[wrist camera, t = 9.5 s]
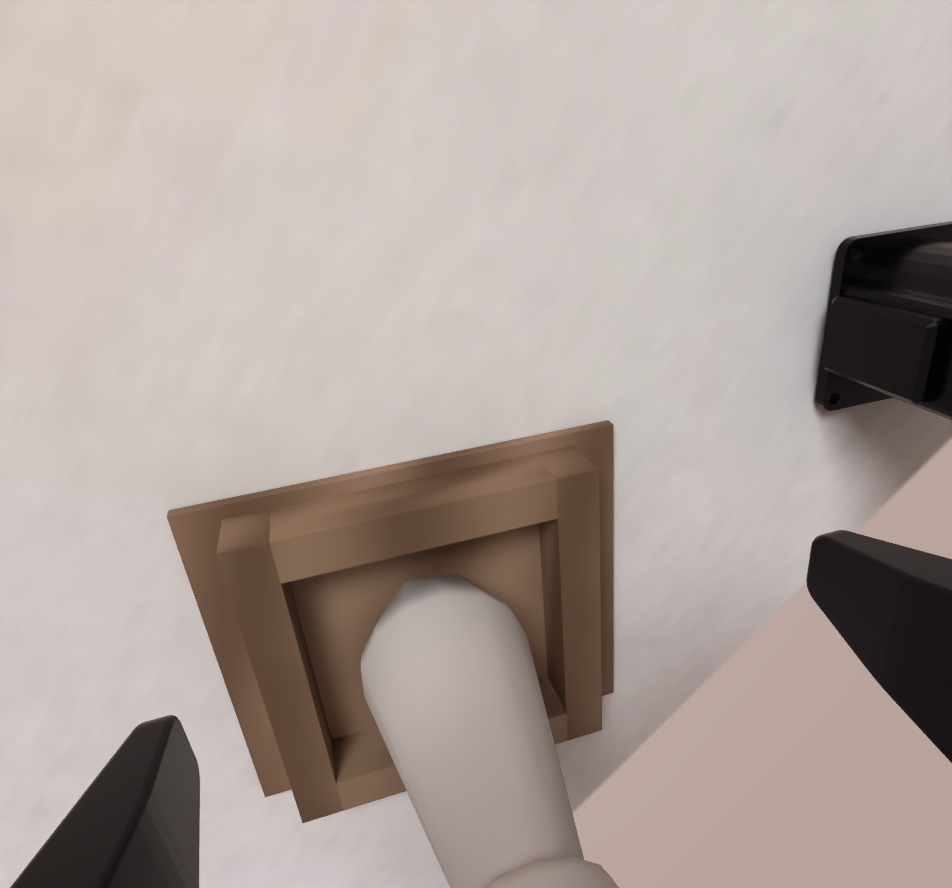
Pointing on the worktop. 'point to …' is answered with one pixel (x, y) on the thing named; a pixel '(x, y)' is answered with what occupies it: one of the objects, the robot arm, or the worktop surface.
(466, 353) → the worktop surface
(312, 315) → the worktop surface
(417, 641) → the salt shaker
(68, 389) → the worktop surface
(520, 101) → the worktop surface
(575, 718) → the brown flat rectangular frame
